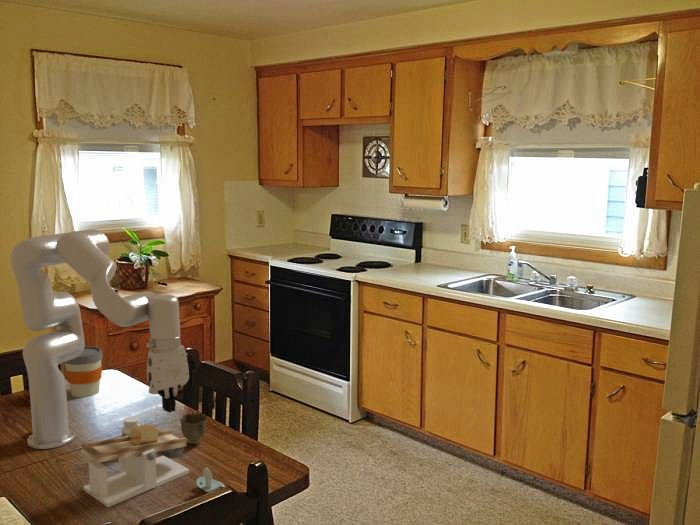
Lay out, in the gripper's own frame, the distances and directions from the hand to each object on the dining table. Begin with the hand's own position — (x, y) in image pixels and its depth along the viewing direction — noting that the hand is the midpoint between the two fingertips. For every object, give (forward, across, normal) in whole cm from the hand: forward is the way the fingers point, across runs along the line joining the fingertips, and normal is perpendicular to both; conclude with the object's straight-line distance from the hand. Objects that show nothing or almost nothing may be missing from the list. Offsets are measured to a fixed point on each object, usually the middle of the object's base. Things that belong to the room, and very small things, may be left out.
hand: (169, 410), depth 173 cm
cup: (+16, +13, +9) cm, 23 cm away
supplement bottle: (+16, -2, +17) cm, 23 cm away
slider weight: (+7, -8, +1) cm, 10 cm away
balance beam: (+10, -10, +1) cm, 15 cm away
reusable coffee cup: (+15, +11, +70) cm, 72 cm away
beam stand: (+16, -10, +1) cm, 19 cm away
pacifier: (+17, +1, -16) cm, 24 cm away
